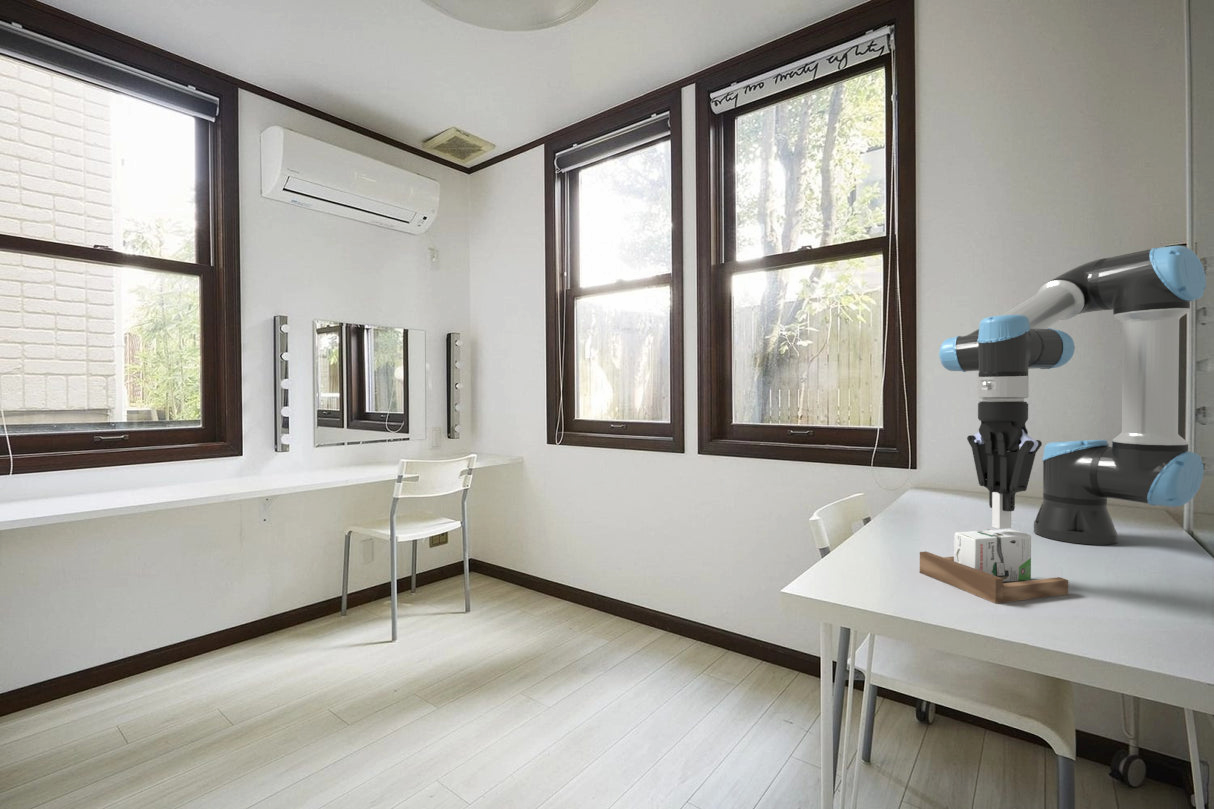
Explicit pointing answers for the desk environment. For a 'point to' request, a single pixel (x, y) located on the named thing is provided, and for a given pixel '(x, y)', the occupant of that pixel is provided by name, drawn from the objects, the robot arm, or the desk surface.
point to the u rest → (988, 581)
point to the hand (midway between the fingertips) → (1001, 527)
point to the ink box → (995, 553)
